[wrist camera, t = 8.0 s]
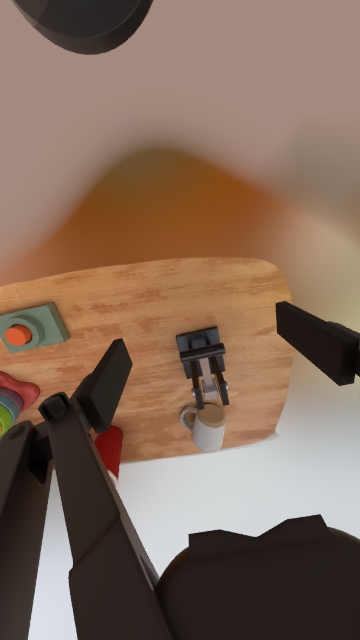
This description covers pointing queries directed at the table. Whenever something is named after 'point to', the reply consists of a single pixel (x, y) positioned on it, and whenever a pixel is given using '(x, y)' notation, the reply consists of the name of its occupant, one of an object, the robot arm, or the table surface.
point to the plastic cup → (110, 451)
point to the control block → (35, 326)
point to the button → (18, 335)
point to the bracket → (194, 367)
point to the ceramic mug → (206, 427)
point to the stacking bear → (14, 399)
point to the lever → (205, 366)
